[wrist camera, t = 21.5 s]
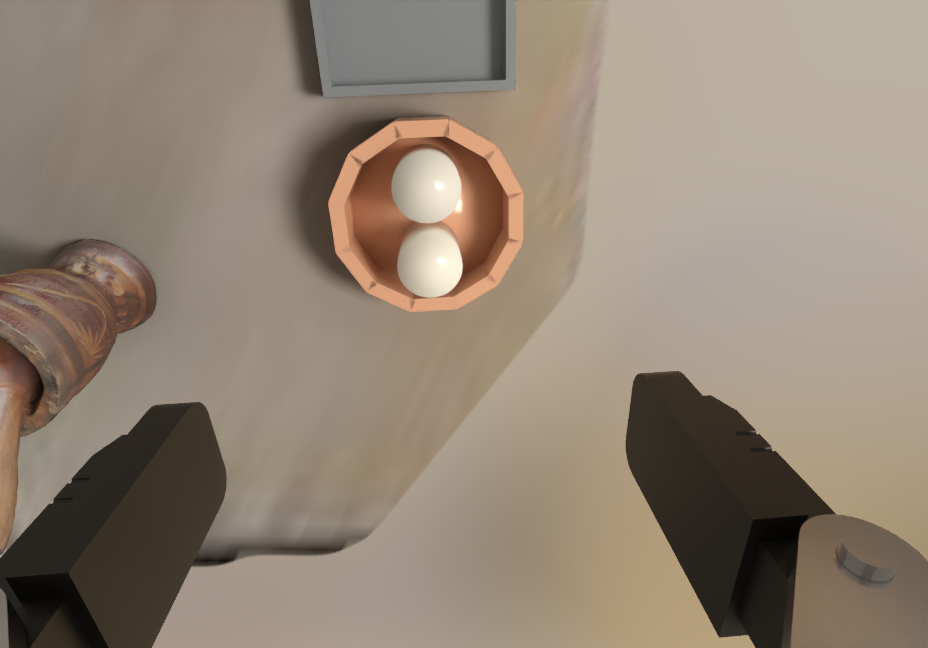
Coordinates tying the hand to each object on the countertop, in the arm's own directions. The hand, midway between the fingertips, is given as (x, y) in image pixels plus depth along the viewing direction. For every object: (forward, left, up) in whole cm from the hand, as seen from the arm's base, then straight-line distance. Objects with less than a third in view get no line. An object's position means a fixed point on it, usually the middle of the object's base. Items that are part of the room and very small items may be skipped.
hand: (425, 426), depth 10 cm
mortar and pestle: (+9, -24, -30) cm, 40 cm away
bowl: (+3, 0, -30) cm, 30 cm away
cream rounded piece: (0, 0, -29) cm, 29 cm away
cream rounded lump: (+5, 0, -29) cm, 30 cm away
